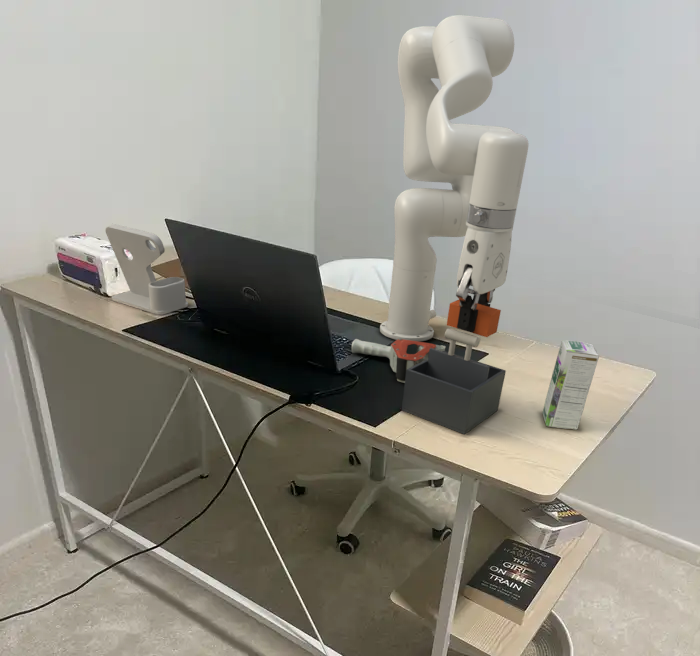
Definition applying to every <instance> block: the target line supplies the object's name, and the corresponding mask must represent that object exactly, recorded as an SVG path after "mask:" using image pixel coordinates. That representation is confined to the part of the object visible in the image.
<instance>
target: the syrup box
mask: <svg viewBox="0 0 700 656" xmlns="http://www.w3.org/2000/svg"><path fill="white" fill-rule="evenodd" d="M599 359H600V355H599V353H598V352H597V349H596V348H595V346H594V344H592V343H589V342H586V341H585V342H584V341H580V340H579V341H578V340H561V341H560V344H559V349H558V353H557V356H556V360H555V364H554V367H553V370H552V375H551V378H550V381H549V385H548V389H547V393H546V396H545V399H544V404H543V408H542V413H541V414H542V418H543V420H544V423H545V426H546V427H549V428H558V429H566V430H567V429H568V430H578V429H579V425H580V423H581V418H582V415H583V412H584V409H585V405H586V401H587V398H588V396H589V391H590V388H591V386H592V382H593V378H594V375H595V373H596V368H597V365H598V361H599Z"/></svg>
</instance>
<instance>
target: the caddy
mask: <svg viewBox="0 0 700 656" xmlns="http://www.w3.org/2000/svg"><path fill="white" fill-rule="evenodd" d="M444 338H445V339H446V340H449V347H448V351H446V350H445V351H440V350H436V349H433V348H430V349H429V356H428V359H426V360H424V361H422V362H420V363H418V364H416V365H414V366H413V367H411V368H409V369H407V370H406V378H405V383H404V385H403V386H404V387H403V396H402V404H401V411H402V412H405V413H407V414H410V415H412V416H416V417H417V418H420V419H422V420H426V421H428V422H431V423H433V424H436V425H439V426H442V427H444V428H446V429H449V430H451V431H454V432H457V433H460V434H462V435H466V434H467V433H468V432H469V431H471V430H473V429H474V428H475V427H476V426H479V424H481V423H482V422H484V421H485V420H486V419H488V418H489V417H491V416H492V415H493V414H495V413H496V412H497V411H499V406H500V401H501V397H502V391H503V386H504V382H505V377H506V372H507V370H506V369H503V368H501V367H497V366H494V365H490V364H486V363H484V362H481V361H478V360H474V359H472V358H471V356H472V350H473V348H478V347H479V345H480V343H481V338H480V336H476V335H473V334H470V333H466V332H463V331H461V330H458V329H453V328H451V327H450V328H449V327H448V328H446V330H445V332H444ZM457 343H460V344H462V345H466V346H465V352H464V356H462V355H459V354H456V353H455V351H456V344H457Z"/></svg>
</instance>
